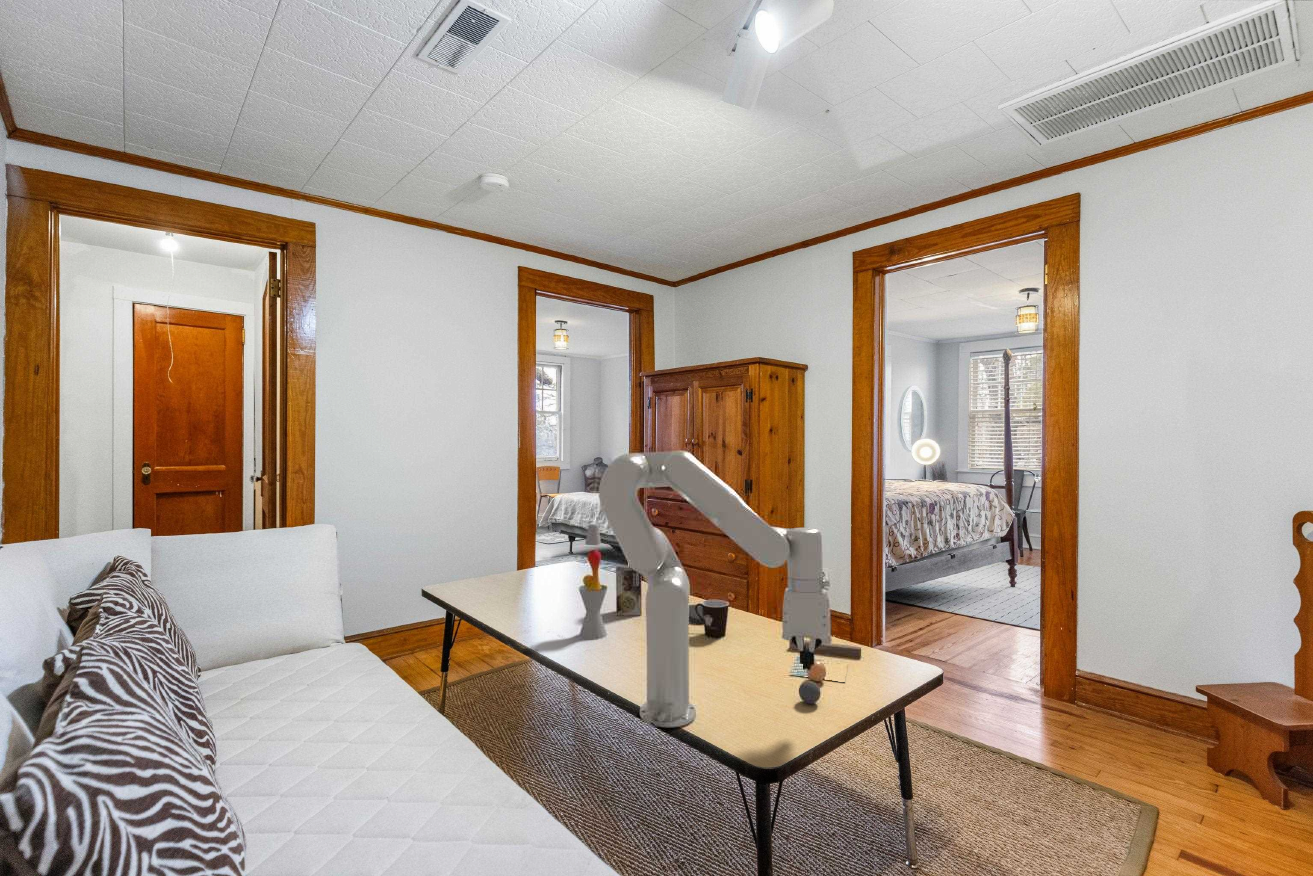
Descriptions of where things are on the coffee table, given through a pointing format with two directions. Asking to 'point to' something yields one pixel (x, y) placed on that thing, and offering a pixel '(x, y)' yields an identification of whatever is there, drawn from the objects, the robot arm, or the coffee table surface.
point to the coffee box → (628, 591)
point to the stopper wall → (832, 649)
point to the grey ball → (809, 692)
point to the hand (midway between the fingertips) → (807, 667)
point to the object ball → (817, 671)
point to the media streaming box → (695, 614)
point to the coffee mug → (714, 617)
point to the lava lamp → (593, 591)
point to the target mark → (801, 668)
